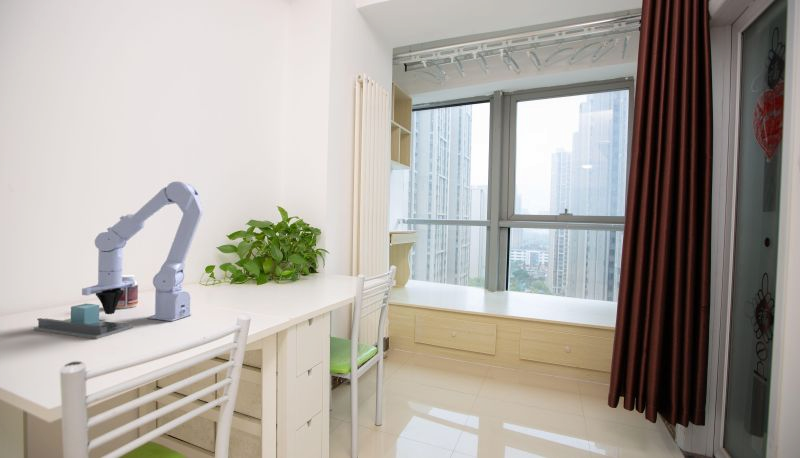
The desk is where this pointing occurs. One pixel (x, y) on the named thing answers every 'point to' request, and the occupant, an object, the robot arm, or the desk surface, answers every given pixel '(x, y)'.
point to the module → (85, 313)
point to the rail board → (102, 323)
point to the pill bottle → (128, 294)
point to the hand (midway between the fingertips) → (109, 313)
